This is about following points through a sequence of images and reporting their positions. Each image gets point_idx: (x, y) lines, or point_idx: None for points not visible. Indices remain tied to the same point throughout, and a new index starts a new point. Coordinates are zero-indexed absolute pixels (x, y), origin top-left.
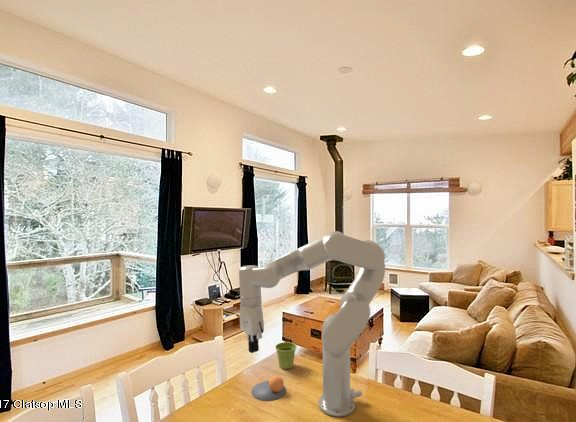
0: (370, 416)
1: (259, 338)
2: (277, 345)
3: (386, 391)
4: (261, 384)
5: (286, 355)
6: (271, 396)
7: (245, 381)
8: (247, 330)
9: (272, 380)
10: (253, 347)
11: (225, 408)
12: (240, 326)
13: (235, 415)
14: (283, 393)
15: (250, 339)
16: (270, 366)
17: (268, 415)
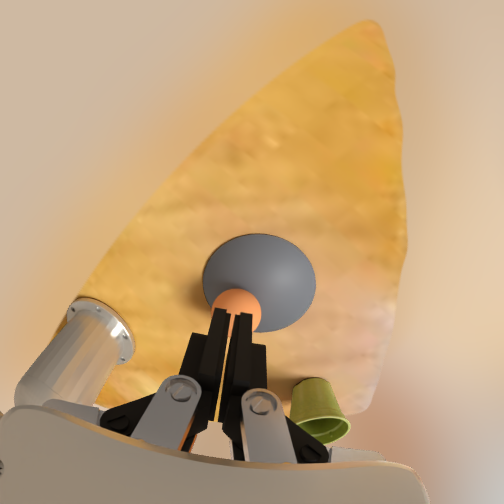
0: (58, 332)
1: (49, 403)
2: (347, 425)
3: (100, 396)
4: (302, 296)
5: (298, 412)
6: (225, 270)
7: (359, 276)
8: (126, 497)
9: (235, 310)
10: (191, 346)
11: (292, 126)
12: (407, 499)
13: (234, 125)
14: (211, 302)
15: (237, 404)
16: (347, 367)
17: (160, 199)
